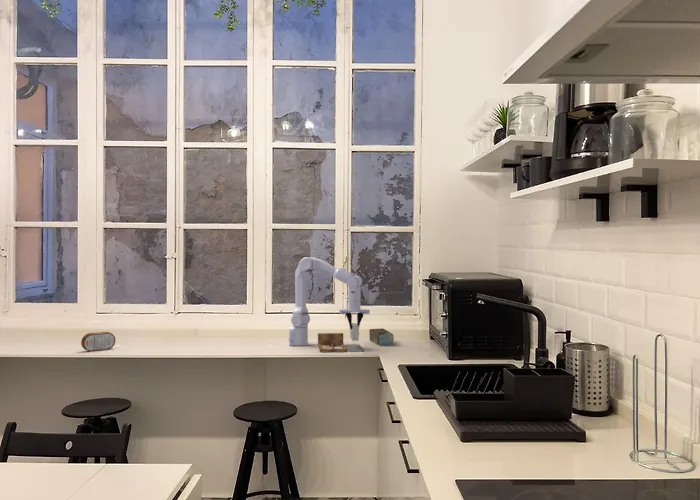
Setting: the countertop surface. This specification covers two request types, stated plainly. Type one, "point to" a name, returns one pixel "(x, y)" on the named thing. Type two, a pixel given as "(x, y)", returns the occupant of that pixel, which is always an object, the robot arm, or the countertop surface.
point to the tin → (98, 341)
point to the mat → (354, 347)
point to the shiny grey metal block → (354, 332)
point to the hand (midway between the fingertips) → (354, 328)
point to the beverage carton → (381, 337)
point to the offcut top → (325, 346)
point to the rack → (331, 342)
